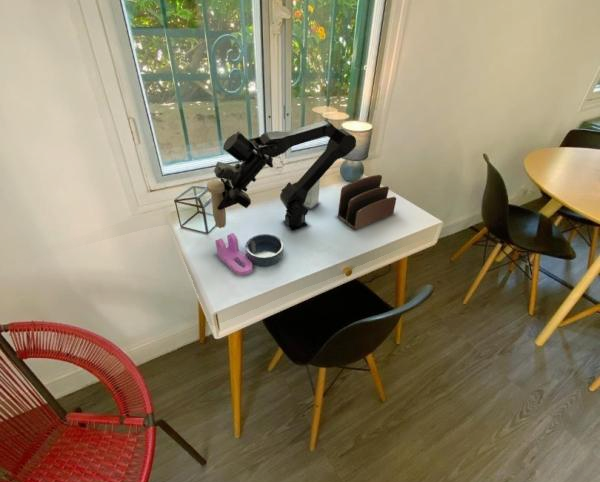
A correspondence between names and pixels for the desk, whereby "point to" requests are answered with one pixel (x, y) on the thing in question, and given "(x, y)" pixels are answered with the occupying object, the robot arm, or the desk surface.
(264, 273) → the desk surface
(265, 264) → the dark grey ring
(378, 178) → the letter holder
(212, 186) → the handle
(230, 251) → the bracket
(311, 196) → the supplement box
